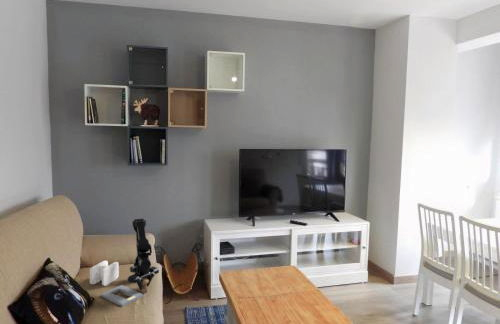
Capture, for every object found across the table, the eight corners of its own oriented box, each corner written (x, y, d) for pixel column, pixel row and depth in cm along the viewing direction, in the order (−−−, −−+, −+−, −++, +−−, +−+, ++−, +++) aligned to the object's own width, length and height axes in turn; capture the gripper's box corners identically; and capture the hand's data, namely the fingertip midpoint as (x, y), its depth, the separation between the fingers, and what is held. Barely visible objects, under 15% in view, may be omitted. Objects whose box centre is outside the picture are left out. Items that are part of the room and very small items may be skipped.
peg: (144, 289, 211) (144, 277, 211) (150, 291, 208) (150, 279, 208) (137, 292, 207) (137, 280, 206) (143, 295, 204) (143, 282, 203)
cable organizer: (103, 288, 211) (102, 270, 210) (89, 285, 214) (88, 267, 213) (119, 278, 226) (118, 261, 224) (105, 275, 229) (105, 259, 227)
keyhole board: (101, 296, 202) (101, 293, 202) (121, 287, 213) (121, 284, 213) (122, 306, 191) (122, 304, 190) (143, 296, 202) (143, 294, 202)
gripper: (147, 255, 218) (147, 279, 220) (121, 264, 203) (122, 290, 204) (159, 259, 212) (159, 283, 213) (133, 269, 196) (134, 295, 198)
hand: (144, 288), depth 207 cm, fingers closed on peg, 5 cm apart
